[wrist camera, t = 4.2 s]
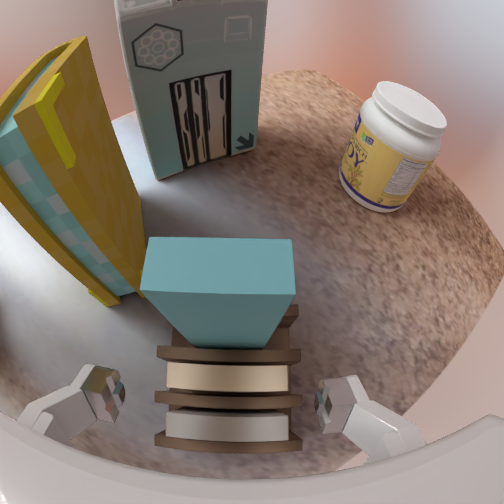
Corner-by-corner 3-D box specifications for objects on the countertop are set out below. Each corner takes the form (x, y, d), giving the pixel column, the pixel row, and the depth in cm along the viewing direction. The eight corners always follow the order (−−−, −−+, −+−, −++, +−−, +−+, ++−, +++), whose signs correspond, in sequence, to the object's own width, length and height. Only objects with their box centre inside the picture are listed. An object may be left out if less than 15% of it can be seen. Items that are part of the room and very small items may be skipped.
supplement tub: (328, 157, 42) (355, 70, 28) (388, 163, 43) (424, 89, 28) (347, 216, 37) (396, 120, 22) (413, 217, 37) (468, 141, 23)
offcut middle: (184, 387, 24) (166, 387, 18) (184, 368, 25) (167, 361, 19) (275, 390, 24) (287, 390, 18) (275, 370, 25) (287, 365, 19)
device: (157, 183, 38) (112, -18, 12) (147, 154, 41) (111, -16, 15) (256, 151, 42) (271, -34, 16) (236, 127, 45) (241, -34, 19)
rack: (172, 442, 22) (154, 455, 16) (178, 302, 30) (164, 280, 24) (288, 445, 22) (302, 460, 17) (285, 305, 30) (296, 283, 24)
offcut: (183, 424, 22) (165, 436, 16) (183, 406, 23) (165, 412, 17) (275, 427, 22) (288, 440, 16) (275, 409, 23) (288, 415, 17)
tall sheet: (200, 352, 26) (139, 289, 10) (201, 329, 27) (149, 236, 11) (260, 353, 26) (295, 294, 10) (259, 331, 27) (291, 239, 11)
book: (157, 294, 30) (41, 99, 8) (107, 307, 29) (-41, 154, 7) (143, 188, 37) (96, 29, 15) (102, 201, 36) (38, 55, 14)
